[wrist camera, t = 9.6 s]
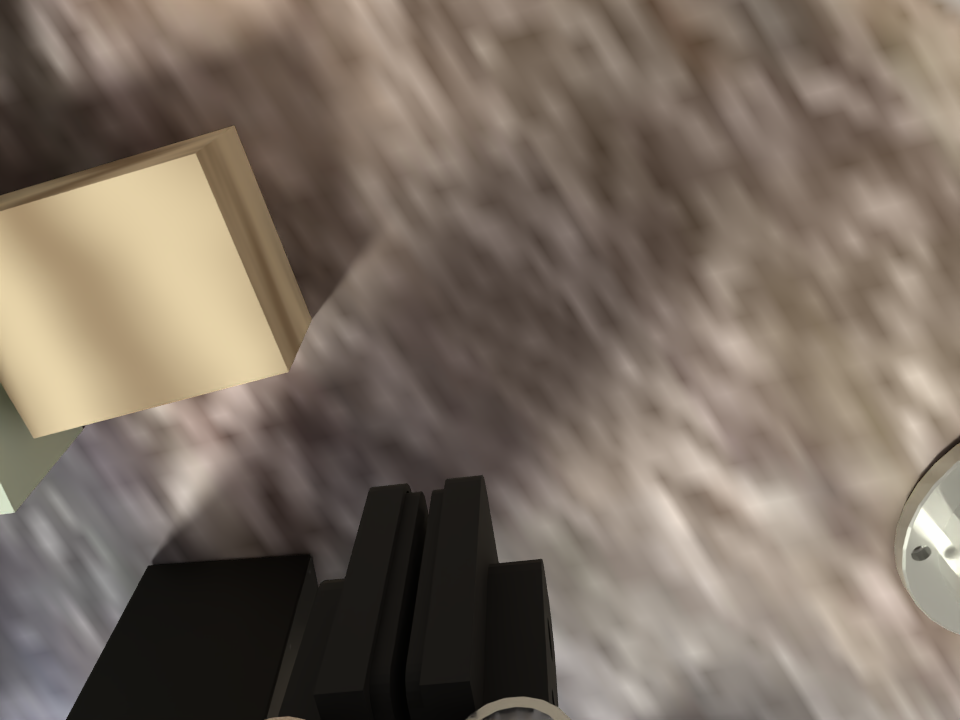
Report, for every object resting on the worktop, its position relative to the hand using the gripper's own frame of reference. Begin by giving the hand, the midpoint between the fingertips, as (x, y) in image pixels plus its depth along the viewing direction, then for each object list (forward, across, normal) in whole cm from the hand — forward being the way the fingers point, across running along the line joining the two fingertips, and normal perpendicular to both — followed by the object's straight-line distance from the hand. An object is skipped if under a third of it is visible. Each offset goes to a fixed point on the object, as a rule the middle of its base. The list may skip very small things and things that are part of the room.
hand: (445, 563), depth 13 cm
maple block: (+22, +13, 0) cm, 25 cm away
